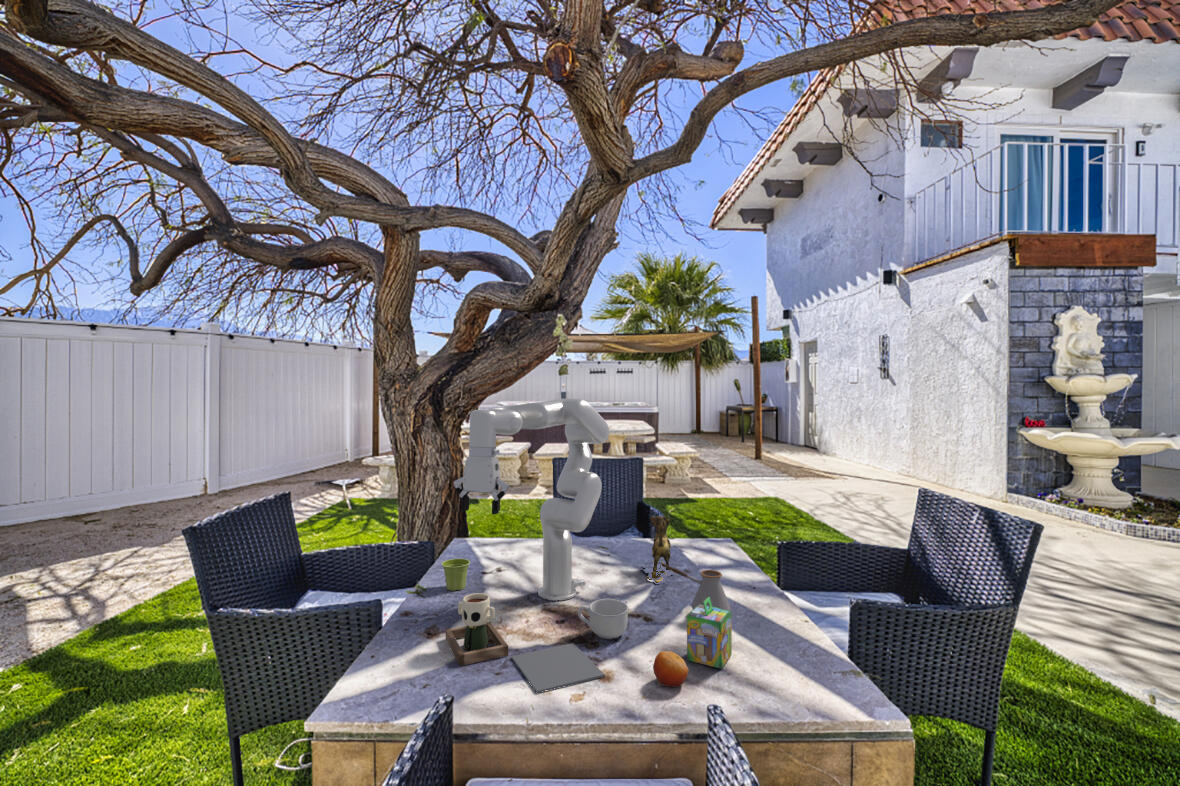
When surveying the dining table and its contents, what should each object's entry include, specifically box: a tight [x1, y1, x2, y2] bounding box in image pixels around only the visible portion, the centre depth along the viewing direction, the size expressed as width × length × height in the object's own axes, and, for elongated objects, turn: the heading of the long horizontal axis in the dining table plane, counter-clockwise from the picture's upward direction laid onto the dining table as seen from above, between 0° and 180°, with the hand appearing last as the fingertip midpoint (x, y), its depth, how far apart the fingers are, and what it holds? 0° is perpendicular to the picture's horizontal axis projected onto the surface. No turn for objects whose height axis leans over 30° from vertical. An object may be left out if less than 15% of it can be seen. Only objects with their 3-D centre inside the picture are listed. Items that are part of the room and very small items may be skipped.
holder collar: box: [445, 621, 509, 667], centre depth 147 cm, size 12×16×2 cm
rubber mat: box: [511, 642, 605, 694], centre depth 137 cm, size 17×18×1 cm
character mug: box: [457, 592, 496, 651], centre depth 147 cm, size 11×7×13 cm, turn 70°
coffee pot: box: [659, 562, 731, 611], centre depth 169 cm, size 21×12×15 cm, turn 79°
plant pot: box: [441, 558, 471, 592], centre depth 191 cm, size 9×9×9 cm
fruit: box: [652, 650, 690, 688], centre depth 130 cm, size 8×8×8 cm
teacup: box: [577, 598, 629, 640], centre depth 156 cm, size 14×11×8 cm
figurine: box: [646, 515, 672, 583], centre depth 207 cm, size 13×25×20 cm, turn 170°
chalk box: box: [686, 596, 733, 670], centre depth 142 cm, size 9×9×15 cm
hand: (480, 512), depth 161 cm, fingers open, 9 cm apart
